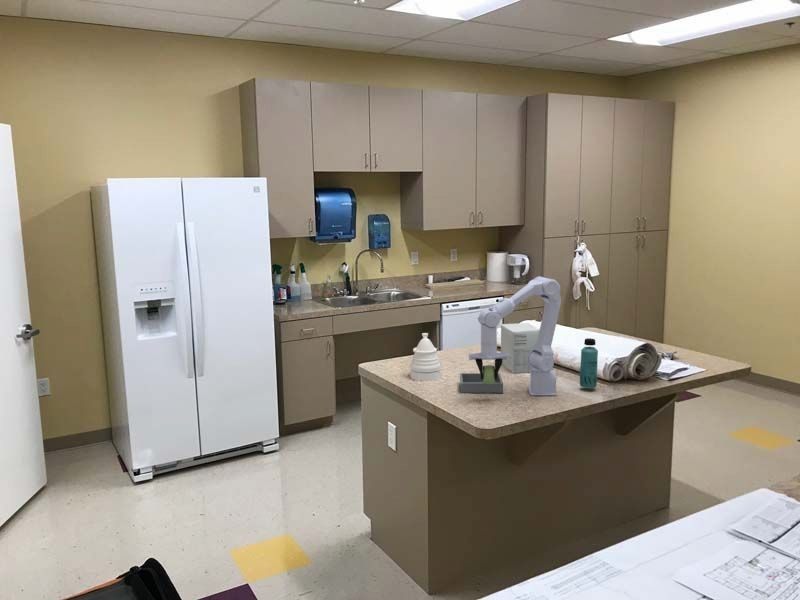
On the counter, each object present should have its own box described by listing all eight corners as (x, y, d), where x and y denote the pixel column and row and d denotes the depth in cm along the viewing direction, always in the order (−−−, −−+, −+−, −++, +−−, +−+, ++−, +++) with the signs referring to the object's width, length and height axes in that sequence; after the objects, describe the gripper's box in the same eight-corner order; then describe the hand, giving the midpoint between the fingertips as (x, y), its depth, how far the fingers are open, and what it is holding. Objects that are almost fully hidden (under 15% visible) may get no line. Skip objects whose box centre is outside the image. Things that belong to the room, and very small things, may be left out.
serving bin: (499, 382, 262) (499, 373, 261) (503, 393, 248) (503, 383, 247) (459, 382, 263) (459, 373, 262) (460, 393, 249) (460, 383, 248)
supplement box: (542, 372, 276) (543, 330, 273) (512, 373, 274) (512, 331, 271) (528, 361, 293) (528, 322, 290) (499, 363, 291) (500, 323, 288)
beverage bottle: (575, 388, 252) (577, 338, 249) (588, 386, 255) (589, 336, 252) (588, 393, 246) (590, 341, 243) (600, 390, 250) (602, 339, 246)
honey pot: (410, 372, 279) (409, 331, 276) (440, 372, 279) (439, 331, 276) (410, 381, 266) (410, 338, 263) (442, 380, 266) (441, 337, 263)
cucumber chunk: (494, 380, 242) (494, 365, 241) (495, 384, 238) (495, 368, 237) (482, 380, 243) (482, 365, 242) (483, 384, 238) (483, 368, 237)
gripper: (469, 345, 234) (469, 381, 237) (509, 345, 234) (509, 381, 236) (468, 340, 241) (468, 376, 244) (507, 340, 240) (507, 376, 243)
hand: (488, 378), depth 240 cm, fingers closed on cucumber chunk, 4 cm apart
